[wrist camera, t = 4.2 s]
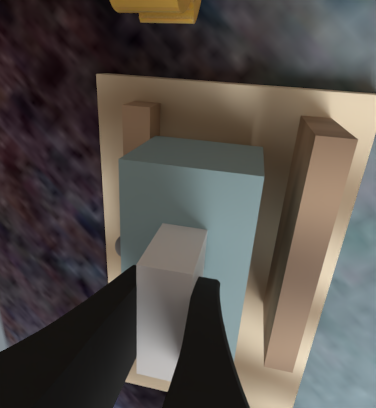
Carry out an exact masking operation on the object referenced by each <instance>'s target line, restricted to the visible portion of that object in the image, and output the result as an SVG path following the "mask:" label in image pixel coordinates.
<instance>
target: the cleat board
mask: <svg viewBox="0 0 376 408" xmlns="http://www.w3.org/2000/svg"><path fill="white" fill-rule="evenodd" d="M96 81H97V98H98V115H99V132H100V149H101V167H102V184H103V201H104V218H105V235H106V252H107V269H108V283H110V282H111V281H112V280H114V279H115V278H116V277H117V276H119V275H120V274H121V257H120V256H119V255H118V254H117V252H116V250H115V242H116V240H117V239H118V237H120V204H119V163H118V159H119V158H121V157H123V156H124V155H126V154H127V153H129V152H130V151H132V150H134V149H135V148H137V147H138V146H140V145H142V144H143V143H145V142H146V141H148V140H150V139H151V138H153V137H154V136H164V137H174V138H183V139H193V140H202V141H212V142H221V143H231V144H240V145H250V146H259V147H263V155H264V176H265V177H264V183H263V189H262V195H261V201H260V207H259V213H258V219H257V225H256V231H255V237H254V243H253V250H252V256H251V262H250V268H249V274H248V280H247V286H246V292H245V298H244V304H243V310H242V316H241V322H240V328H239V334H238V340H237V346H236V352H235V358H234V364H235V367H236V370H237V374H238V377H239V379H240V382H241V385H242V388H243V391H244V393H245V396H246V399H247V401H248V404H249V406H250V408H293V405H294V402H295V399H296V395H297V392H298V389H299V385H300V382H301V379H302V375H303V372H304V369H305V365H306V362H307V359H308V356H309V352H310V349H311V346H312V342H313V339H314V336H315V332H316V329H317V326H318V322H319V319H320V316H321V313H322V309H323V306H324V303H325V299H326V296H327V293H328V289H329V286H330V283H331V279H332V276H333V273H334V269H335V266H336V263H337V260H338V256H339V253H340V250H341V246H342V243H343V240H344V236H345V233H346V230H347V226H348V223H349V220H350V217H351V213H352V210H353V207H354V203H355V200H356V197H357V193H358V190H359V187H360V183H361V180H362V177H363V173H364V170H365V167H366V164H367V160H368V157H369V154H370V150H371V147H372V144H373V140H374V137H375V134H376V93H364V92H351V91H337V90H324V89H311V88H297V87H284V86H270V85H257V84H244V83H230V82H217V81H203V80H190V79H176V78H163V77H150V76H136V75H123V74H109V73H102V74H96ZM125 382H128V383H132V384H136V385H141V386H145V387H149V388H153V389H157V390H162V391H166V392H168V389H169V386H170V383H171V381H166V380H162V379H158V378H153V377H149V376H145V375H141V374H137V357H136V359H135V361H134V364H133V366H132V368H131V370H130V372H129V374H128V376H127V378H126V381H125Z"/></svg>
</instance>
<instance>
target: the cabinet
mask: <svg viewBox="0 0 376 408" xmlns="http://www.w3.org/2000/svg"><path fill="white" fill-rule="evenodd" d="M118 163H119V204H120V237H118V239H117V240H116V242H115V250H116V252H117V254H118V255H119V256H120V257H121V273H123V272H124V271H125V270H127V269H128V268H129V267H131V266H132V265H136V285H137V374H141V375H145V376H149V377H153V378H158V379H162V380H166V381H171V380H172V377H173V374H174V371H175V368H176V365H177V361H178V358H179V355H180V350H181V346H182V342H183V336H184V331H185V325H186V319H187V314H188V308H189V303H190V297H191V295H192V292H193V289H194V286H195V284H196V281H197V279H198V277H199V276H200V277H206V278H212V279H217V280H218V281H219V282H220V283H221V284H220V303H221V310H222V316H223V322H224V326H225V331H226V335H227V339H228V343H229V347H230V351H231V354H232V357H233V361H234V358H235V352H236V346H237V340H238V334H239V328H240V322H241V316H242V310H243V304H244V298H245V292H246V286H247V280H248V274H249V268H250V262H251V256H252V250H253V243H254V237H255V231H256V225H257V219H258V213H259V207H260V201H261V195H262V189H263V183H264V177H265V176H264V155H263V147H259V146H250V145H240V144H231V143H221V142H212V141H202V140H193V139H183V138H174V137H164V136H154V137H153V138H151V139H150V140H148V141H146V142H145V143H143V144H142V145H140V146H138V147H137V148H135V149H134V150H132V151H130V152H129V153H127V154H126V155H124V156H123V157H121V158H119V159H118Z"/></svg>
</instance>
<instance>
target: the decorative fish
mask: <svg viewBox="0 0 376 408" xmlns="http://www.w3.org/2000/svg"><path fill="white" fill-rule="evenodd" d="M110 2H111V5H112V7H113V8H114V10H115V11H116V12H118V13H139V19H140V23H187V24H194V23H195V22H196V19H197V15H198V12H199V8H200V4H201V0H110Z"/></svg>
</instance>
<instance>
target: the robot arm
mask: <svg viewBox="0 0 376 408" xmlns="http://www.w3.org/2000/svg"><path fill="white" fill-rule="evenodd" d="M220 284H221V283H220V282H219V281H218V280H217V279H212V278H206V277H200V276H199V277H198V279H197V281H196V284H195V286H194V289H193V292H192V295H191V297H190V303H189V308H188V314H187V319H186V325H185V331H184V336H183V342H182V346H181V350H180V355H179V358H178V361H177V365H176V368H175V371H174V374H173V377H172V380H171V383H170V386H169V389H168V392H167V395H166V398H165V401H164V404H163V407H162V408H250V406H249V404H248V401H247V399H246V396H245V393H244V391H243V388H242V385H241V382H240V379H239V377H238V374H237V370H236V367H235V364H234V361H233V357H232V354H231V351H230V347H229V343H228V339H227V335H226V331H225V326H224V322H223V316H222V310H221V303H220ZM136 357H137V285H136V265H132V266H131V267H129V268H128V269H127V270H125V271H124V272H123V273H121V274H120V275H119V276H117V277H116V278H115V279H114V280H112V281H111V282H110V283H108V284H107V285H106V286H104V287H103V288H102V289H100V290H99V291H98V292H96V293H95V294H94V295H92V296H91V297H89V298H88V299H87V300H85V301H84V302H83V303H81V304H80V305H78V306H77V307H75V308H74V309H72V310H71V311H69V312H68V313H66V314H65V315H63V316H62V317H60V318H59V319H57V320H56V321H54V322H53V323H51V324H50V325H48V326H46V327H45V328H43V329H41V330H40V331H38V332H36V333H34V334H33V335H31V336H29V337H27V338H25V339H24V340H22V341H20V342H18V343H16V344H14V345H13V346H11V347H9V348H7V349H5V350H3V351H1V352H0V408H113V406H114V404H115V402H116V400H117V397H118V395H119V393H120V391H121V389H122V387H123V385H124V383H125V381H126V378H127V376H128V374H129V372H130V370H131V368H132V366H133V364H134V361H135V359H136Z"/></svg>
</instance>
